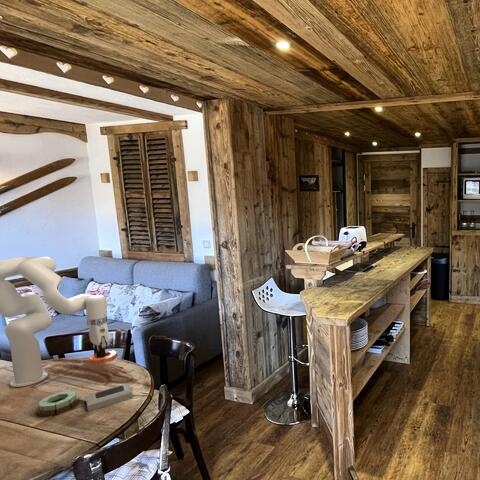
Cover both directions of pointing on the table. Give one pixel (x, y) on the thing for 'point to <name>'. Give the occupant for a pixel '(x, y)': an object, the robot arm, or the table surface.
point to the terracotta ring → (110, 356)
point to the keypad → (108, 396)
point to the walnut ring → (58, 411)
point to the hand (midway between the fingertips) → (100, 356)
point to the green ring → (68, 396)
